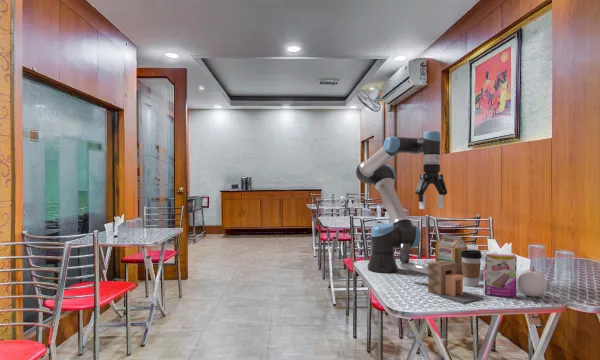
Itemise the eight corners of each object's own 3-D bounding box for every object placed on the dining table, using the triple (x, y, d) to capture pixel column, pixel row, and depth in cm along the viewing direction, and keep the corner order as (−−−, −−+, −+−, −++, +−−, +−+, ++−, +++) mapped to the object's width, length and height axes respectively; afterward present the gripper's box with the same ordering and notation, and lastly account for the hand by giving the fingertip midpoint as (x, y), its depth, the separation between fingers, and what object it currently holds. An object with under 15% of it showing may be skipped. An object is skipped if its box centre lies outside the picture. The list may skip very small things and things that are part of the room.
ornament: (547, 301, 138) (547, 269, 138) (515, 296, 144) (515, 266, 144) (546, 294, 147) (546, 265, 147) (516, 290, 152) (516, 262, 153)
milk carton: (467, 275, 179) (467, 236, 179) (454, 277, 173) (454, 237, 173) (448, 270, 188) (448, 233, 188) (435, 273, 182) (435, 235, 182)
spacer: (445, 294, 144) (445, 275, 145) (453, 291, 147) (453, 273, 148) (453, 296, 141) (454, 277, 141) (462, 294, 144) (462, 275, 144)
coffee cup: (484, 288, 156) (484, 252, 156) (462, 286, 157) (463, 252, 158) (478, 283, 164) (478, 249, 164) (458, 281, 166) (458, 248, 166)
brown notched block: (428, 292, 149) (428, 262, 149) (443, 288, 154) (443, 260, 154) (440, 296, 144) (440, 265, 144) (456, 292, 149) (456, 263, 149)
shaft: (398, 267, 166) (398, 243, 167) (404, 266, 169) (404, 242, 169) (437, 277, 149) (437, 250, 149) (443, 276, 151) (443, 249, 151)
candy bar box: (485, 295, 145) (485, 254, 146) (483, 292, 150) (483, 252, 150) (517, 298, 142) (517, 256, 142) (514, 294, 146) (514, 253, 147)
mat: (440, 296, 143) (440, 295, 143) (459, 292, 149) (459, 290, 149) (463, 304, 134) (463, 302, 134) (482, 298, 140) (482, 297, 140)
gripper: (420, 162, 164) (420, 209, 163) (455, 164, 177) (455, 208, 176) (407, 163, 170) (407, 208, 170) (441, 165, 183) (441, 207, 183)
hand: (431, 208), depth 173 cm, fingers open, 13 cm apart
